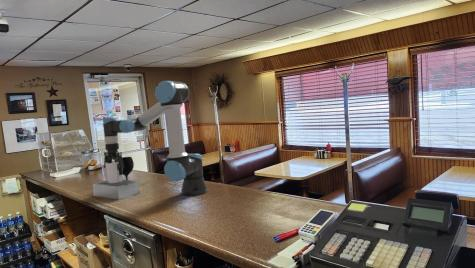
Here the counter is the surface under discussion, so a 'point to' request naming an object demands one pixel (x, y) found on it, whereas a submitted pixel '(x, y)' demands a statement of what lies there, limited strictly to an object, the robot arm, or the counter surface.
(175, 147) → the robot arm
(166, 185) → the counter surface
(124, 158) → the wine glass
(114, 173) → the white box
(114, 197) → the steel trough
